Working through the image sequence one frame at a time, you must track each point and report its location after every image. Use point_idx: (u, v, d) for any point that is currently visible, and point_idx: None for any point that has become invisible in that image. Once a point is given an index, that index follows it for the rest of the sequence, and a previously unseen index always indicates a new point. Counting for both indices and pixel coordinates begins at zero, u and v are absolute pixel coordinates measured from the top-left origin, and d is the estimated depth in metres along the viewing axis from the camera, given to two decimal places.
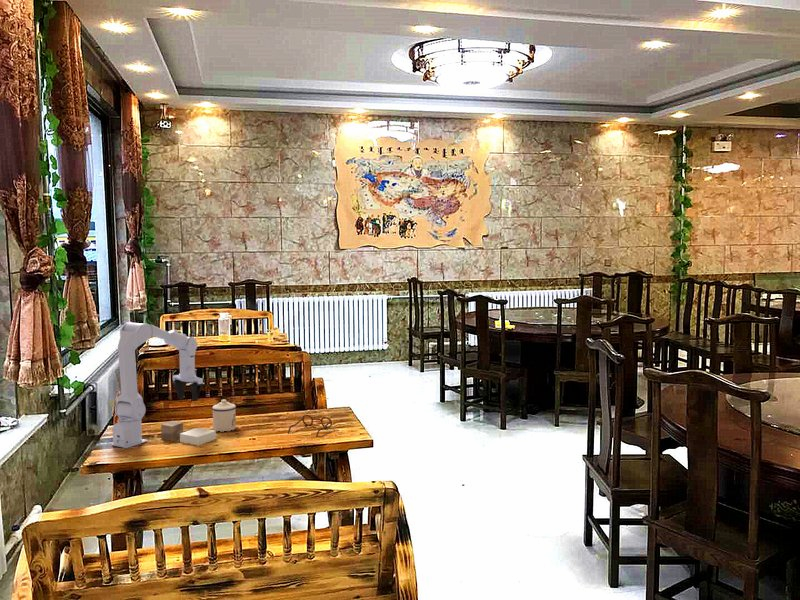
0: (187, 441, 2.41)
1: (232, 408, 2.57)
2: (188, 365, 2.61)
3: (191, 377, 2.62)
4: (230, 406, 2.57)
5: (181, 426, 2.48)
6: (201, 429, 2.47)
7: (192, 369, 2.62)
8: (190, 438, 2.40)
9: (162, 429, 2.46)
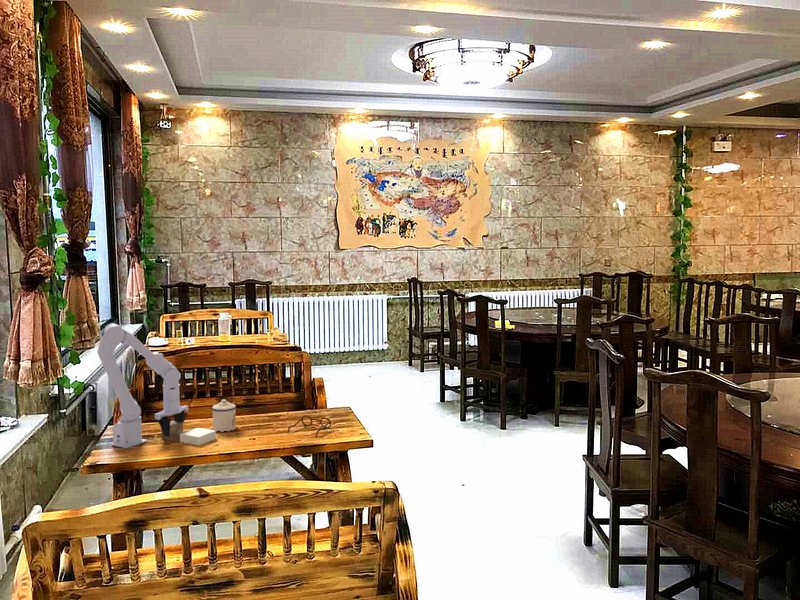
0: (187, 441, 2.41)
1: (232, 408, 2.57)
2: (168, 397, 2.44)
3: (164, 410, 2.45)
4: (230, 406, 2.57)
5: (181, 426, 2.48)
6: (201, 429, 2.47)
7: (165, 402, 2.44)
8: (190, 438, 2.40)
9: None
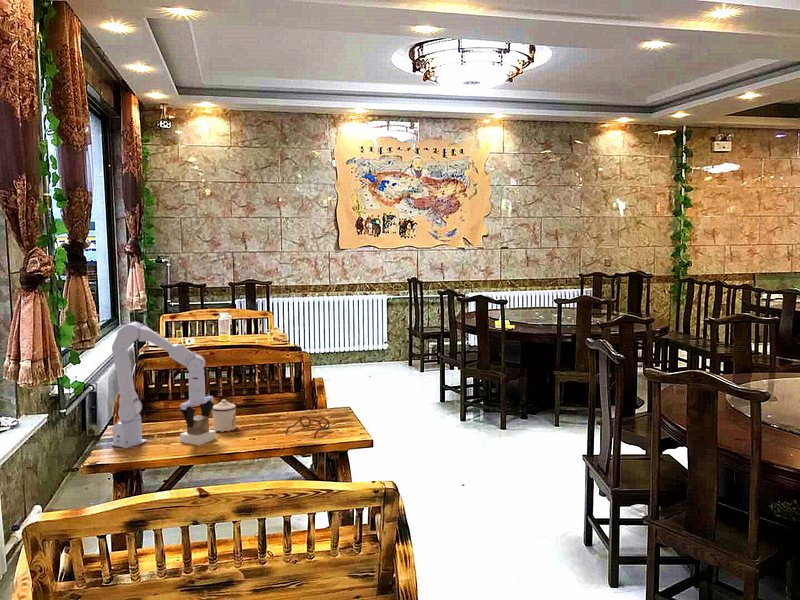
0: (187, 442, 2.41)
1: (232, 408, 2.57)
2: (191, 387, 2.40)
3: (190, 400, 2.41)
4: (230, 406, 2.57)
5: (207, 420, 2.44)
6: None
7: (191, 392, 2.40)
8: (191, 439, 2.40)
9: None
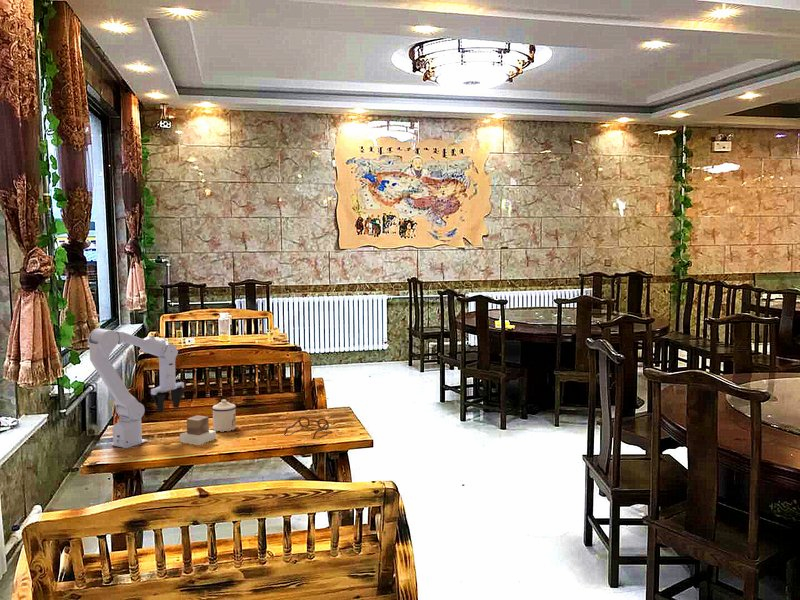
0: (188, 442, 2.40)
1: (232, 408, 2.57)
2: (167, 373, 2.48)
3: (160, 386, 2.49)
4: (230, 406, 2.57)
5: (207, 420, 2.44)
6: None
7: (161, 378, 2.48)
8: (191, 439, 2.40)
9: (188, 423, 2.42)
